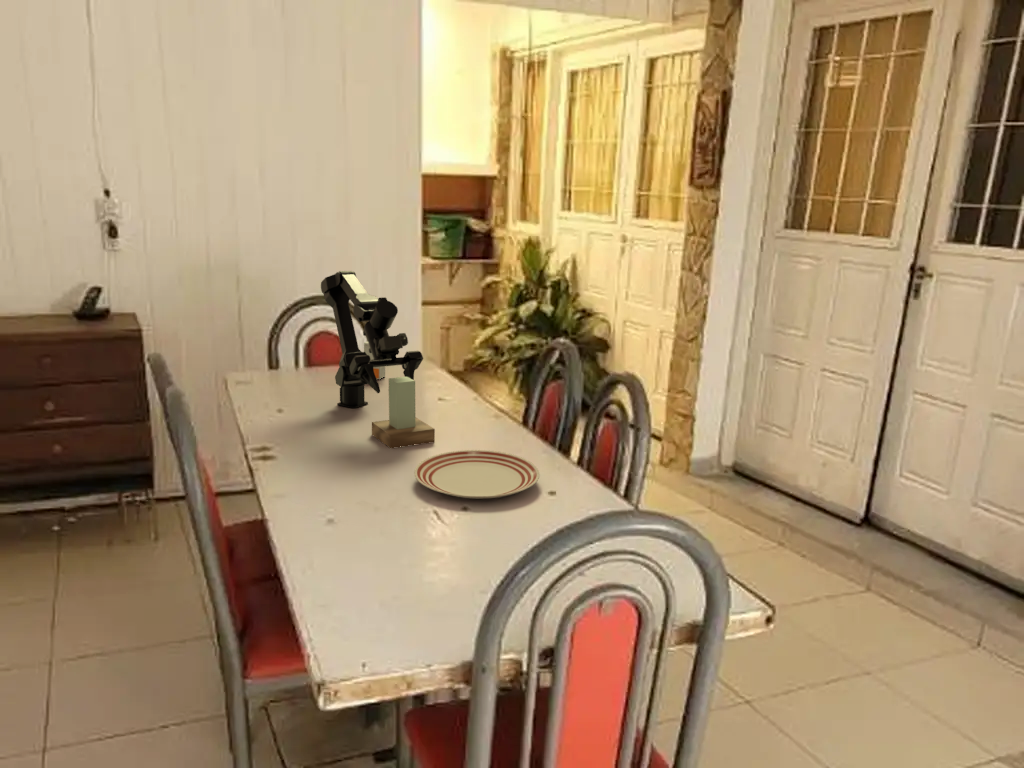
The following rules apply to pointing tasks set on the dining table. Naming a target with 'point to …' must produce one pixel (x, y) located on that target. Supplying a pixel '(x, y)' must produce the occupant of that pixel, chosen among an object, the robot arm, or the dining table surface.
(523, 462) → the dinner plate
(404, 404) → the sage block
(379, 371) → the skincare box
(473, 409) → the dining table surface
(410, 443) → the walnut block
